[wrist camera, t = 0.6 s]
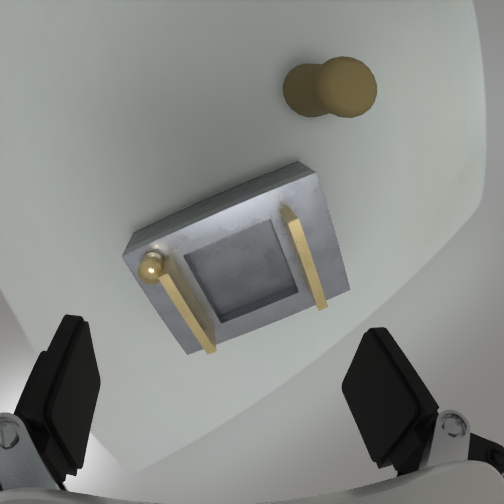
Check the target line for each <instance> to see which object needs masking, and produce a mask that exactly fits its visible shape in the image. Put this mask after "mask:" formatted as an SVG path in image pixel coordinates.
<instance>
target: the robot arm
mask: <svg viewBox="0 0 504 504" xmlns="http://www.w3.org/2000/svg"><path fill="white" fill-rule="evenodd" d="M99 390H100V375H99V371H98V367H97V362H96V358H95V353H94V349H93V344H92V339H91V334H90V328H89V324H88V322H87V321H84V319H83V317H81V316H75V315H67V314H66V315H65V316H64V317H63V319H62V321H61V323H60V325H59V327H58V329H57V331H56V333H55V335H54V337H53V339H52V341H51V343H50V345H49V348H48V350H47V351H42V352H41V353H40V355H39V357H38V359H37V361H36V363H35V365H34V367H33V370H32V372H31V374H30V376H29V378H28V381H27V383H26V385H25V388H24V390H23V392H22V394H21V397H20V399H19V402H18V404H17V406H16V409H15V412H14V414H11V413H0V504H159V503H147V502H137V501H128V500H119V499H112V498H106V497H99V496H93V495H88V494H81V493H74V492H69V491H68V490H67V488H66V486H65V485H64V483H63V482H64V481H65V479H66V474H69V475H73V476H76V474H77V469H81V468H82V467H83V463H84V457H85V452H86V447H87V442H88V437H89V433H90V428H91V423H92V419H93V415H94V410H95V406H96V402H97V398H98V394H99ZM342 392H343V394H344V396H345V399H346V401H347V403H348V406H349V408H350V410H351V412H352V415H353V417H354V419H355V422H356V424H357V426H358V429H359V431H360V433H361V435H362V438H363V440H364V443H365V445H366V448H367V450H368V452H369V455H370V457H371V459H372V461H373V462H376V463H377V466H378V468H379V469H380V468H383V467H387V466H390V465H392V464H393V466H394V472H393V475H392V477H391V479H388V480H385V481H382V482H378V483H374V484H370V485H367V486H362V487H358V488H354V489H350V490H345V491H340V492H335V493H331V494H325V495H319V496H314V497H308V498H301V499H294V500H287V501H277V502H269V503H256V504H504V447H503V446H501V445H499V444H497V443H495V442H492V441H490V440H487V439H485V438H482V437H480V436H477V435H475V434H472V433H470V425H469V422H468V421H467V419H466V418H465V417H464V416H463V415H462V414H461V413H459V412H457V411H454V410H445V411H442V412H441V413H440V414H439V413H438V412H437V410H438V408H439V406H438V405H437V403H436V401H435V400H434V398H433V397H432V395H431V394H430V392H429V390H428V389H427V387H426V386H425V384H424V383H423V382H422V380H421V378H420V377H419V375H418V374H417V372H416V371H415V369H414V368H413V366H412V365H411V363H410V362H409V360H408V359H407V357H406V356H405V354H404V353H403V352H402V350H401V349H400V347H399V346H398V345H397V343H396V341H395V340H394V339H393V337H392V336H391V334H390V333H389V331H388V330H387V329H386V328H384V327H380V328H370V329H369V330H368V331H367V332H365V333H364V335H363V337H362V340H361V342H360V344H359V347H358V349H357V351H356V353H355V356H354V358H353V360H352V363H351V365H350V367H349V369H348V372H347V374H346V376H345V378H344V380H343V382H342Z"/></svg>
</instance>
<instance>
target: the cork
mask: <svg viewBox="0 0 504 504" xmlns="http://www.w3.org/2000/svg"><path fill="white" fill-rule="evenodd" d="M283 94H284V97H285V99H286V102H287V103H288V105H289V106H290V107H291V109H292V110H294V111H295V112H297V113H298V114H300V115H303V116H306V117H317V116H321V115H325V114H329V113H331V114H334V115H337V116H339V117H348V118H353V117H356V116H359V115H362V114H364V113H365V112H366V111H368V110H369V109H370V108H371V106H372V105H373V103H374V102H375V98H376V95H377V84H376V81H375V78H374V75H373V74H372V72H371V71H370V69H369V68H368V67H367V66H366V65H365V64H364V63H363V62H361V61H359V60H356V59H354V58H351V57H343V56H341V57H337V58H332V59H330V60H328V61H327V62H325V63H324V64H303V65H299V66H297V67H295V68H294V69H292V70H291V71H290V72H289V74H288V75H287V76H286V78H285V81H284V85H283Z"/></svg>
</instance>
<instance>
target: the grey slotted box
mask: <svg viewBox="0 0 504 504" xmlns="http://www.w3.org/2000/svg"><path fill="white" fill-rule="evenodd" d="M122 258H123V259H124V261H125V262H126V264H127V266H128V267H129V269H130V271H131V272H132V274H133V275H134V277H135V279H136V280H137V282H138V283H139V285H140V286H141V288H142V290H143V291H144V293H145V294H146V296H147V297H148V299H149V300H150V302H151V303H152V305H153V306H154V308H155V309H156V311H157V312H158V314H159V315H160V317H161V318H162V320H163V321H164V323H165V324H166V326H167V327H168V328H169V330H170V331H171V333H172V334H173V336H174V337H175V338H176V340H177V341H178V343H179V344H180V345H181V347H182V348H183V350H184V351H185V352H186V354H187V355H188V354H191V353H194V352H197V351H199V350H202V349H204V350H205V351H206V353H207V354H210V353H213V352H216V344H219V343H221V342H224V341H227V340H230V339H232V338H235V337H237V336H240V335H243V334H245V333H248V332H250V331H253V330H256V329H258V328H261V327H263V326H266V325H268V324H271V323H273V322H276V321H278V320H281V319H283V318H286V317H288V316H290V315H293V314H295V313H298V312H300V311H302V310H305V309H307V308H309V307H312V306H314V305H316V306H317V308H318V310H319V311H320V310H322V309H324V308H326V307H328V305H327V302H326V300H328V299H330V298H333V297H335V296H337V295H339V294H342V293H344V292H346V291H348V290H350V287H349V283H348V279H347V275H346V271H345V267H344V264H343V260H342V256H341V253H340V249H339V245H338V242H337V238H336V235H335V231H334V228H333V225H332V221H331V218H330V215H329V211H328V208H327V205H326V201H325V198H324V195H323V192H322V189H321V186H320V182H319V179H318V176H317V173H316V172H315V171H313V170H311V169H310V168H308V167H307V166H305V165H304V164H302V163H300V162H299V161H298V162H296V163H293V164H291V165H288V166H286V167H283V168H280V169H278V170H275V171H273V172H270V173H268V174H265V175H263V176H261V177H258V178H256V179H253V180H251V181H248V182H246V183H244V184H241V185H239V186H236V187H234V188H232V189H229V190H227V191H225V192H222V193H220V194H218V195H215V196H213V197H211V198H208V199H206V200H204V201H202V202H199V203H197V204H195V205H193V206H190V207H188V208H186V209H184V210H182V211H179V212H177V213H175V214H173V215H171V216H169V217H166V218H164V219H162V220H160V221H158V222H156V223H154V224H151V225H149V226H147V227H145V228H143V229H141V230H139V231H137V232H135V233H133V235H132V237H131V239H130V241H129V243H128V245H127V247H126V249H125V251H124V253H123V255H122Z"/></svg>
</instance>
